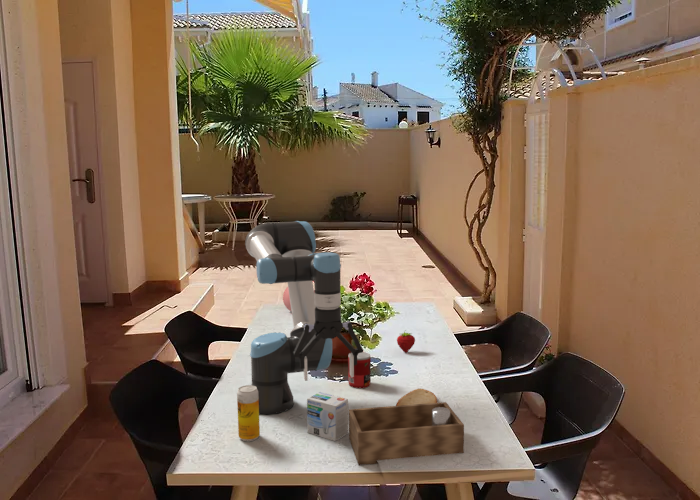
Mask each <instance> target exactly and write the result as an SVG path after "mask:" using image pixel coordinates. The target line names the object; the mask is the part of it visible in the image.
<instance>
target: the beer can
mask: <svg viewBox="0 0 700 500" xmlns="http://www.w3.org/2000/svg"><path fill="white" fill-rule="evenodd" d="M236 397H237V398H236V401H237V421H238V422H237V427H238V428H237V430H238V438H240V440H241V441H243V442H254V441H256V440H257V439H258V438H259V436H260V413H259V397H258V390H257V387H256V386H252V384H248V385H247V384H246V385H242V386H240V387H238V389H237V392H236Z"/></svg>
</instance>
